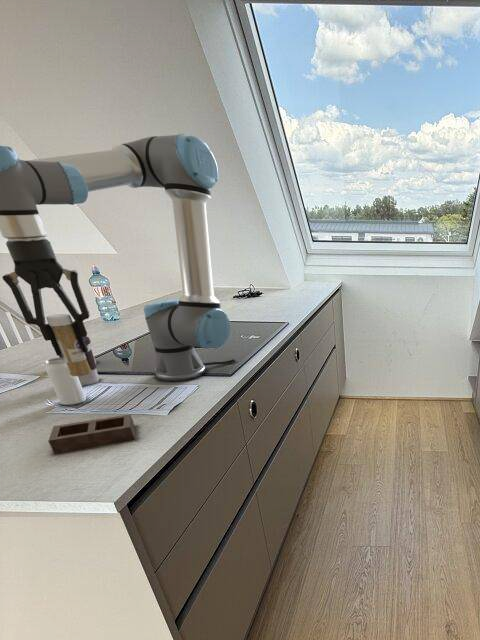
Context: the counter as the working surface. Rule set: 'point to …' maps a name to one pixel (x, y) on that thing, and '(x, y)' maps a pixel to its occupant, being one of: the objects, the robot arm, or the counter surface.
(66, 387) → the can
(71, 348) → the sprinkles bottle
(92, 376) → the coffee cup
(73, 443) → the holder
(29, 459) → the counter surface
